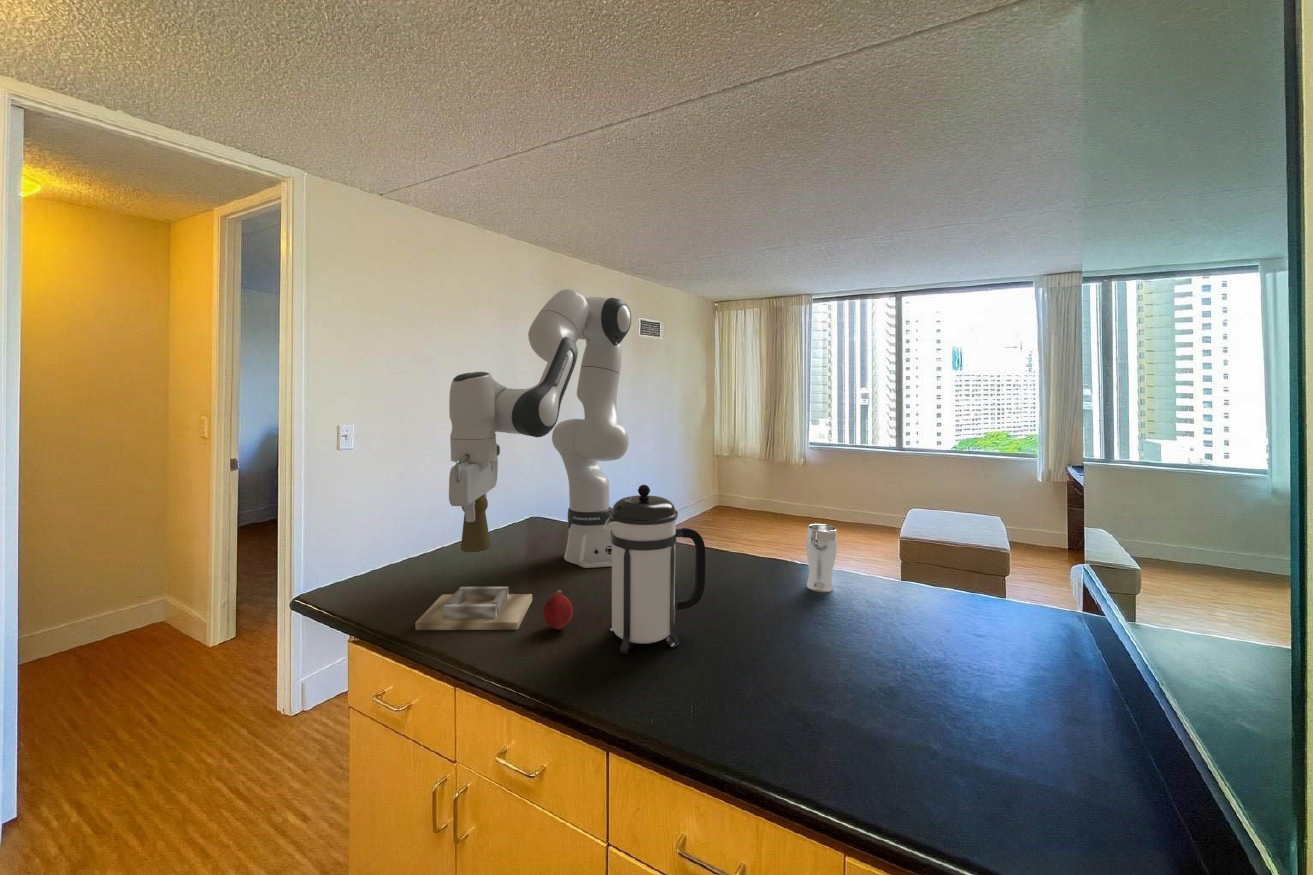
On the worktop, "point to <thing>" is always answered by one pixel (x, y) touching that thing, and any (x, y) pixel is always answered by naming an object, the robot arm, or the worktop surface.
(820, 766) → the worktop surface
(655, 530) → the coffee press
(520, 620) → the collar board
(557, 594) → the red rounded piece
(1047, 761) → the worktop surface
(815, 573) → the beer glass
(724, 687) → the worktop surface
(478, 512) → the cork
